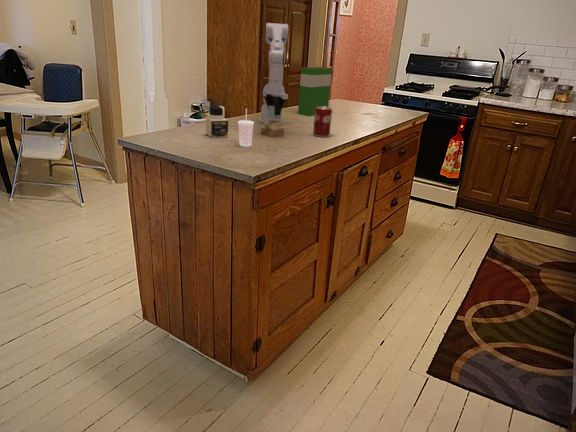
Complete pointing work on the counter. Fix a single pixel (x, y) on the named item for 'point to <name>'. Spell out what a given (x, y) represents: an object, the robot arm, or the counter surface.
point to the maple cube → (273, 125)
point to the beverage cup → (245, 132)
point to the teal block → (273, 112)
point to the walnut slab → (272, 132)
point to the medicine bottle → (216, 122)
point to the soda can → (322, 121)
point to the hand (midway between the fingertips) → (274, 114)
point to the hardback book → (314, 89)
